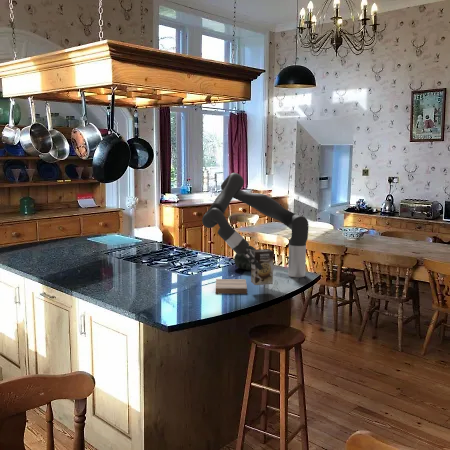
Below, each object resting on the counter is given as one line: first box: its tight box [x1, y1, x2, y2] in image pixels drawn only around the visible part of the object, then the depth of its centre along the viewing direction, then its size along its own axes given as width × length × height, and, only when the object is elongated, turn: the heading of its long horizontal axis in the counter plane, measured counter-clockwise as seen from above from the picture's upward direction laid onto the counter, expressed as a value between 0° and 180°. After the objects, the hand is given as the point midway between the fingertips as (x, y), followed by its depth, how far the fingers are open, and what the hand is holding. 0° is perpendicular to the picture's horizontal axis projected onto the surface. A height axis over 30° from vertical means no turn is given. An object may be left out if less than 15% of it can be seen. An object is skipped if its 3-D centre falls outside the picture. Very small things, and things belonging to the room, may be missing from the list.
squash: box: [233, 245, 257, 272], centre depth 289 cm, size 14×15×15 cm
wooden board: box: [215, 278, 248, 295], centre depth 250 cm, size 17×15×2 cm
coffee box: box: [250, 248, 275, 286], centre depth 242 cm, size 9×6×16 cm
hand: (261, 266), depth 241 cm, fingers closed on coffee box, 7 cm apart
